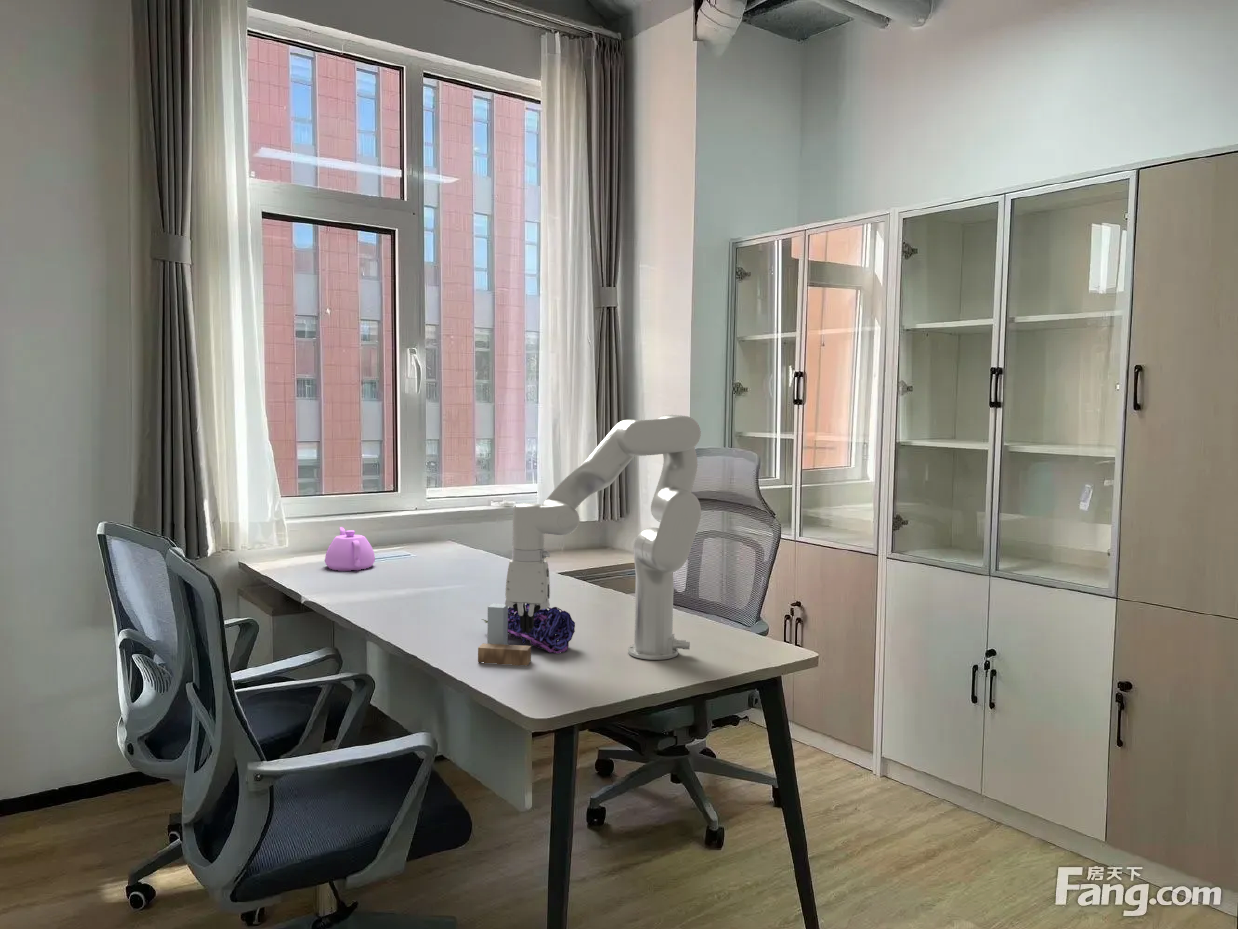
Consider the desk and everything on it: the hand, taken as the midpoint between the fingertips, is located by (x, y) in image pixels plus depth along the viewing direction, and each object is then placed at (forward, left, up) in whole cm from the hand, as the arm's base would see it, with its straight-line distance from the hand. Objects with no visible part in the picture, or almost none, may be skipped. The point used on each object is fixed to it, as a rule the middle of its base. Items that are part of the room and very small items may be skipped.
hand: (526, 631), depth 219 cm
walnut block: (-1, 0, -6) cm, 6 cm away
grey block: (+9, -7, -8) cm, 14 cm away
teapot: (+95, -106, -8) cm, 143 cm away
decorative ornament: (+5, -20, -8) cm, 22 cm away
